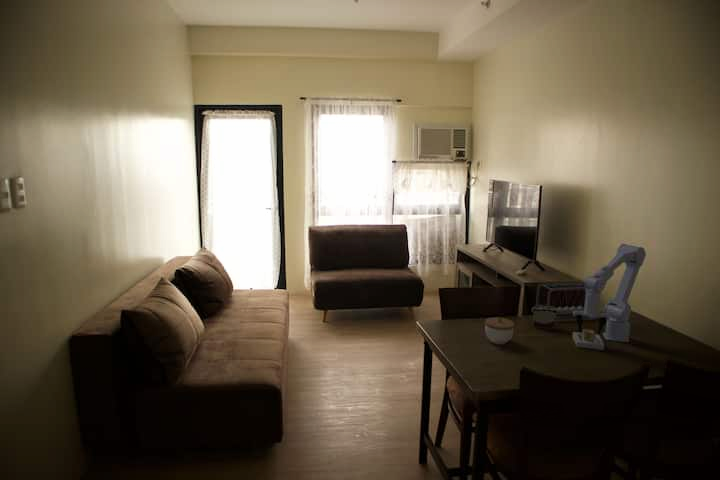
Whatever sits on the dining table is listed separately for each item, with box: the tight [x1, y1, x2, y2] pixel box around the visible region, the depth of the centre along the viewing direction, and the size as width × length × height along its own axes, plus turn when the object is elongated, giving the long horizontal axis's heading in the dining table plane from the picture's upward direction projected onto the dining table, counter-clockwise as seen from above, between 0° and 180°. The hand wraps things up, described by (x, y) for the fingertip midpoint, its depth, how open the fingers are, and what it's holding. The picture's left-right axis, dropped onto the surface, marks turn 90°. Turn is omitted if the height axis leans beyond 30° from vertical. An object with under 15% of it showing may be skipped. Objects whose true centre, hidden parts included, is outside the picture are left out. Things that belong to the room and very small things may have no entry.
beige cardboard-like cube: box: [582, 328, 596, 342], centre depth 216 cm, size 4×5×5 cm
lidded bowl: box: [484, 317, 515, 345], centre depth 215 cm, size 13×13×11 cm
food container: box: [531, 304, 558, 329], centre depth 236 cm, size 12×6×10 cm, turn 84°
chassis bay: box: [571, 331, 605, 351], centre depth 216 cm, size 11×12×2 cm
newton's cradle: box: [535, 281, 602, 323], centre depth 247 cm, size 30×10×18 cm, turn 102°
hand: (589, 332), depth 215 cm, fingers open, 7 cm apart
